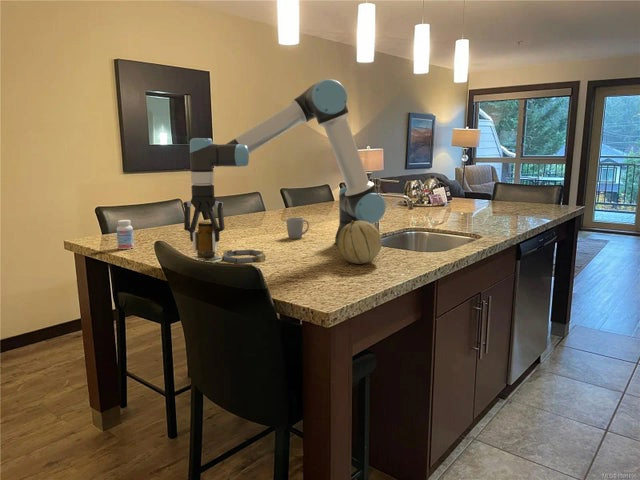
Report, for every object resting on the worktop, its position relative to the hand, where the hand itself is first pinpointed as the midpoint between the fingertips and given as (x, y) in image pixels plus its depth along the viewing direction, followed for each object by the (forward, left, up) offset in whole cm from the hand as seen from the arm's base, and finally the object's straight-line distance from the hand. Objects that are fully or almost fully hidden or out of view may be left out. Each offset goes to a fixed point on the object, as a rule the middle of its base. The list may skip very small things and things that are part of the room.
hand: (205, 250), depth 167 cm
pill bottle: (+44, +2, -4) cm, 44 cm away
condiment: (0, -1, -3) cm, 3 cm away
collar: (-8, -10, -4) cm, 14 cm away
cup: (-1, -52, -4) cm, 52 cm away
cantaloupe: (-47, -25, -4) cm, 54 cm away
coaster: (0, 0, -4) cm, 4 cm away
